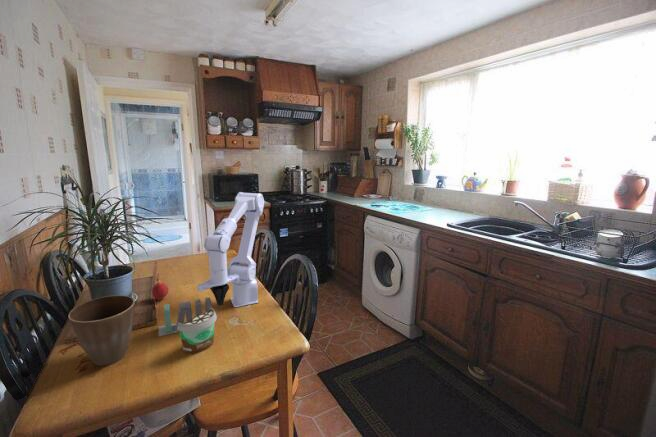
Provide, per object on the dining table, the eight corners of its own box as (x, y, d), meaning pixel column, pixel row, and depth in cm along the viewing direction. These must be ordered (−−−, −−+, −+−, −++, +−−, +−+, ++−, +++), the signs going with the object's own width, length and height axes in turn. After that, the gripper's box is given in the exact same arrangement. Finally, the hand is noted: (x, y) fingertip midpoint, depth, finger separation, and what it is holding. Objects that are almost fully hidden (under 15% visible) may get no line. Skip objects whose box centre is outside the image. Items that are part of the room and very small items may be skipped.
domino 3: (191, 321, 110) (190, 300, 108) (192, 328, 106) (191, 306, 105) (186, 322, 109) (185, 301, 108) (187, 329, 105) (186, 307, 104)
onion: (162, 304, 122) (160, 284, 120) (149, 302, 123) (147, 283, 121) (172, 297, 128) (170, 279, 126) (159, 295, 129) (158, 277, 127)
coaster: (178, 323, 109) (178, 322, 109) (179, 332, 104) (179, 331, 104) (158, 327, 106) (158, 326, 106) (158, 336, 101) (158, 336, 101)
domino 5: (210, 317, 113) (209, 297, 111) (212, 323, 109) (211, 302, 107) (206, 318, 112) (204, 298, 111) (207, 324, 108) (206, 303, 107)
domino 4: (201, 319, 111) (200, 299, 110) (202, 325, 108) (201, 304, 106) (196, 320, 111) (195, 299, 109) (197, 326, 107) (196, 305, 105)
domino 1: (171, 325, 107) (169, 303, 105) (171, 332, 103) (169, 309, 102) (166, 326, 106) (164, 304, 105) (166, 333, 102) (164, 310, 101)
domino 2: (181, 323, 109) (185, 302, 108) (182, 330, 105) (186, 307, 104) (176, 324, 108) (180, 302, 107) (177, 330, 104) (180, 307, 103)
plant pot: (133, 369, 86) (127, 316, 82) (67, 381, 81) (57, 325, 77) (144, 339, 99) (139, 292, 96) (87, 348, 94) (80, 299, 91)
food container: (191, 361, 89) (189, 330, 87) (178, 354, 93) (176, 323, 91) (226, 340, 100) (225, 311, 98) (213, 334, 103) (212, 306, 101)
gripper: (232, 260, 116) (233, 294, 118) (192, 270, 106) (195, 306, 109) (241, 265, 111) (243, 301, 114) (201, 276, 101) (203, 314, 104)
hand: (220, 304), depth 111 cm, fingers closed
